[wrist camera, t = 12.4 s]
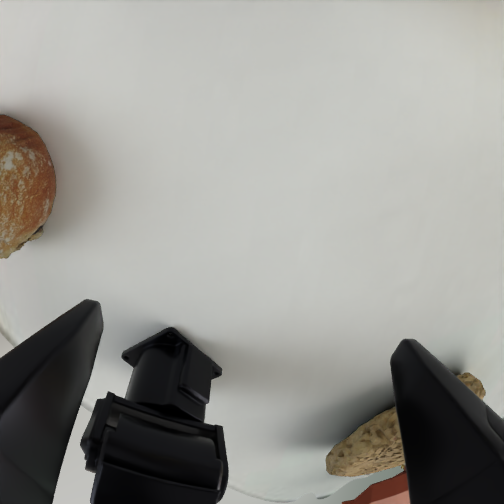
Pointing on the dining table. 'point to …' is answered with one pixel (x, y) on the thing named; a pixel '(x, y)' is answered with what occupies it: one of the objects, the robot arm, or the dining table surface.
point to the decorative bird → (385, 491)
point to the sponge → (378, 442)
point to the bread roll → (23, 185)
